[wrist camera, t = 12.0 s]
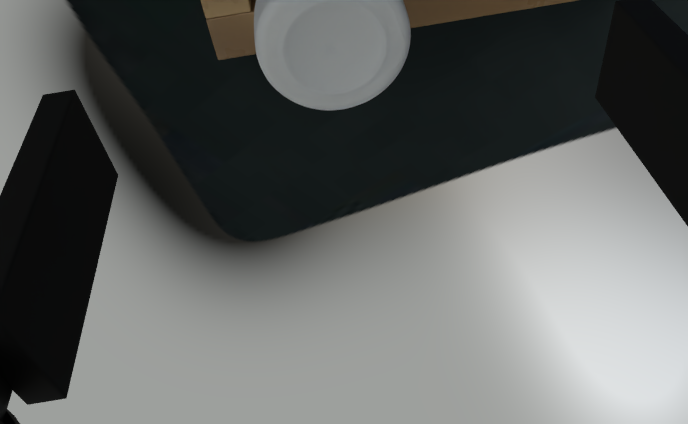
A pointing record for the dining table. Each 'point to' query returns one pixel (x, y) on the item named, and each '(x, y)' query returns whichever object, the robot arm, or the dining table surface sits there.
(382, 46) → the spice jar
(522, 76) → the dining table surface
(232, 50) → the holder
